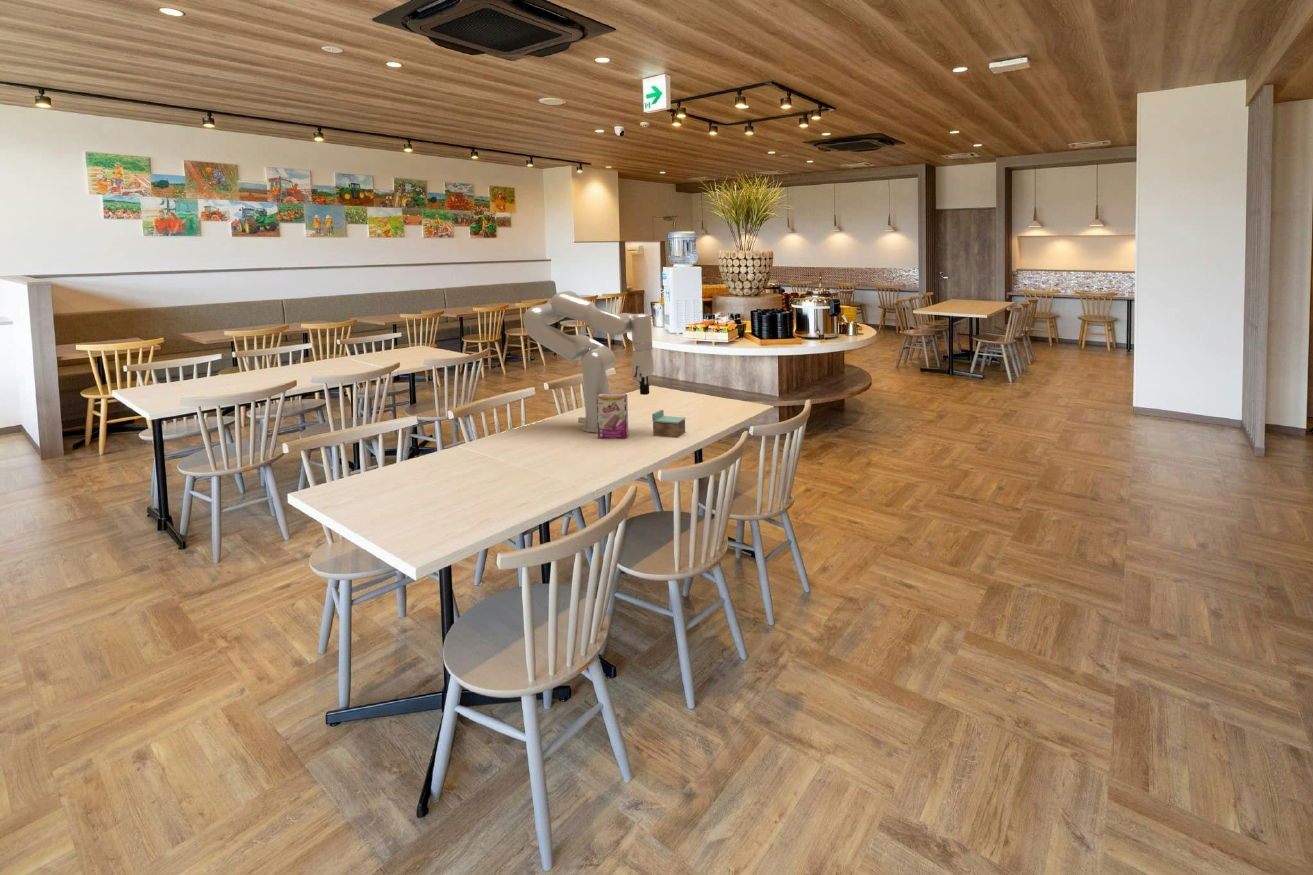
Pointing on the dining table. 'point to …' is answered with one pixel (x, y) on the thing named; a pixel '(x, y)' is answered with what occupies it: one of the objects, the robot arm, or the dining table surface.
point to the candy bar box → (612, 415)
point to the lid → (666, 418)
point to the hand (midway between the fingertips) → (644, 394)
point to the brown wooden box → (668, 429)
